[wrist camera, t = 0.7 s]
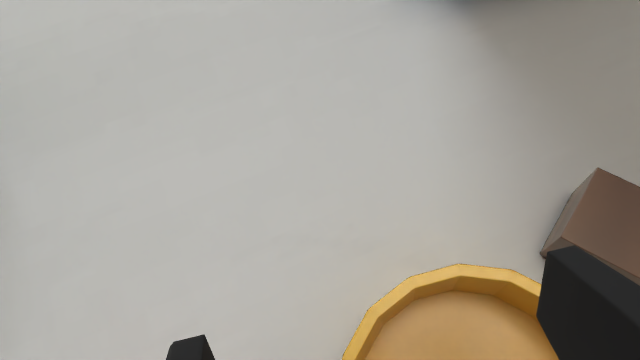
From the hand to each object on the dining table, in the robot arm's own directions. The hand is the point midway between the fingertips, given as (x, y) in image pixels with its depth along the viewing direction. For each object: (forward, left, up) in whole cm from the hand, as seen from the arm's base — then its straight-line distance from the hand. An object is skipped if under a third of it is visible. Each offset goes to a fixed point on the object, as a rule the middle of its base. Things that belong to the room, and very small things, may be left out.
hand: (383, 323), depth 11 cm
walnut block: (-2, -12, -19) cm, 22 cm away
